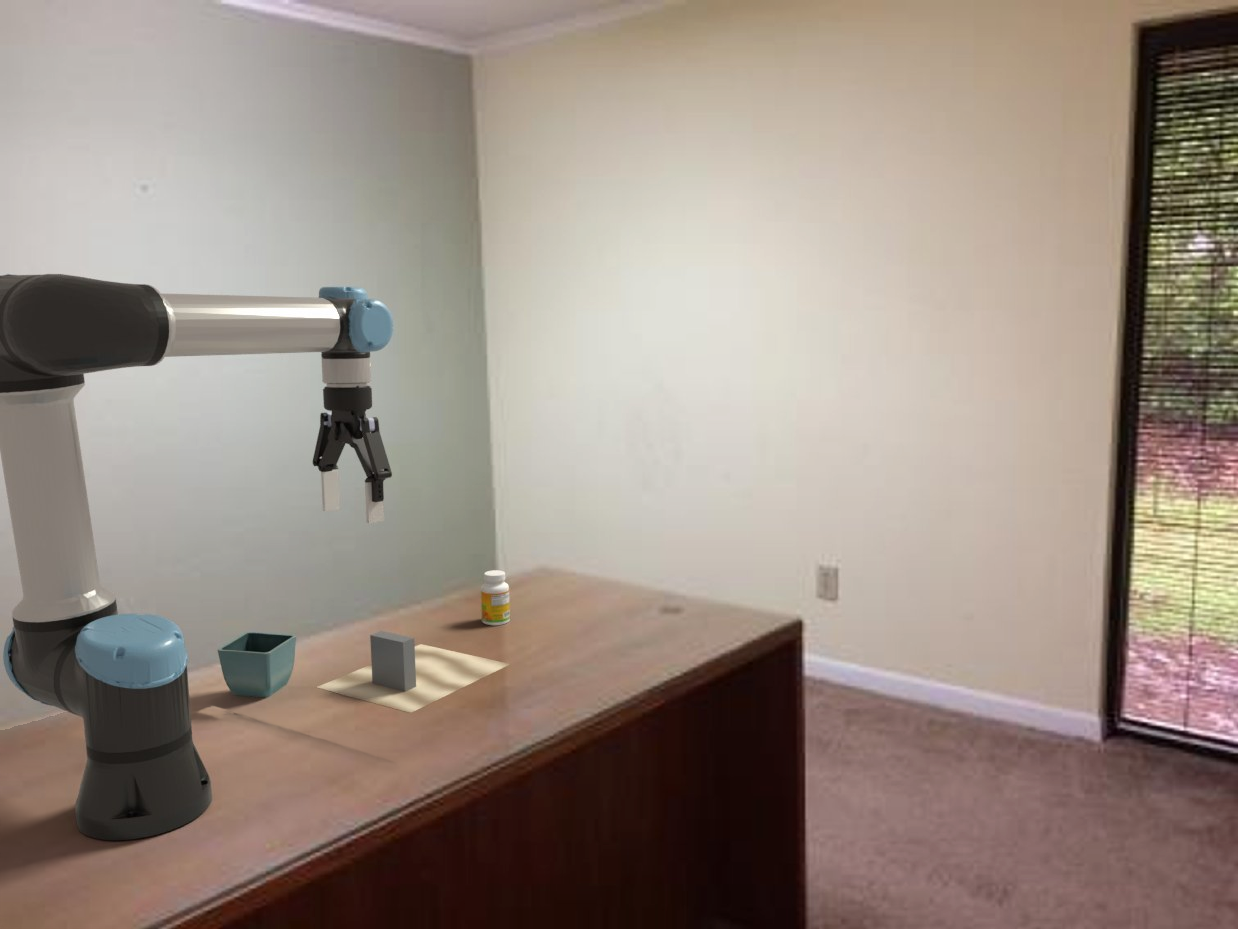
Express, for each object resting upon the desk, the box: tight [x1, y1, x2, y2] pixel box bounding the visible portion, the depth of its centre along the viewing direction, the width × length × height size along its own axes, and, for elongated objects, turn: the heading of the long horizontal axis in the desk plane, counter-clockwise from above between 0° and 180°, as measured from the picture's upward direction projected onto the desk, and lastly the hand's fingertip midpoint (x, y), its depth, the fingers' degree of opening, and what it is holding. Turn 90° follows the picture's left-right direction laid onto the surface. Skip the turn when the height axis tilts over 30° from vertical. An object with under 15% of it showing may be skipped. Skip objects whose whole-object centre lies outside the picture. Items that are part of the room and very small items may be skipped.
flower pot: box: [217, 631, 297, 698], centre depth 162 cm, size 9×9×9 cm
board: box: [316, 643, 511, 714], centre depth 168 cm, size 24×20×1 cm
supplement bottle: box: [480, 569, 511, 626], centre depth 199 cm, size 5×5×10 cm
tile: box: [369, 630, 416, 692], centre depth 163 cm, size 3×7×8 cm, turn 58°
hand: (352, 515), depth 168 cm, fingers open, 13 cm apart
